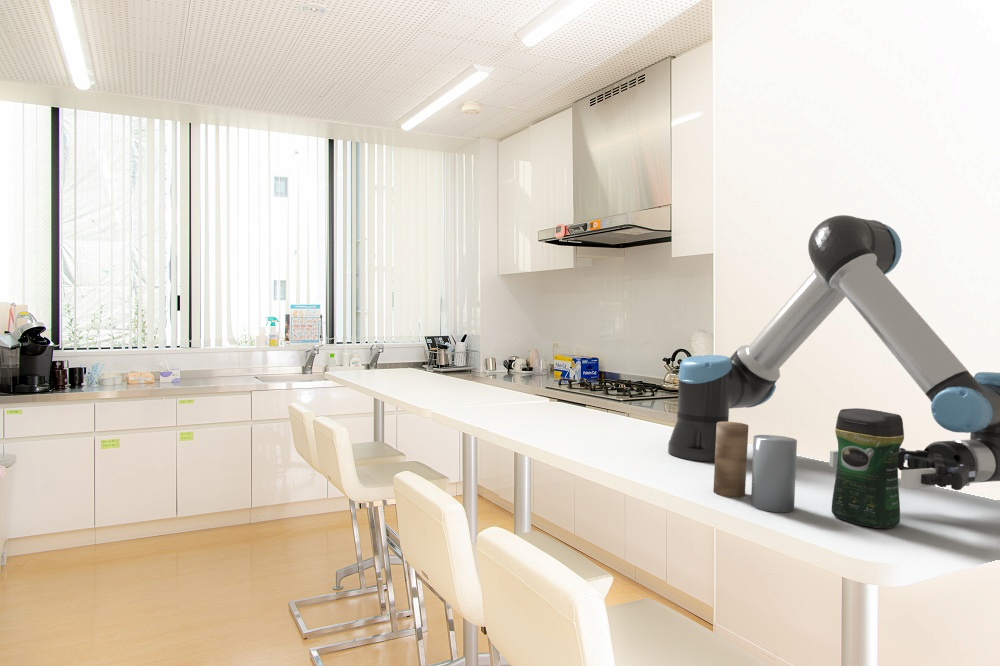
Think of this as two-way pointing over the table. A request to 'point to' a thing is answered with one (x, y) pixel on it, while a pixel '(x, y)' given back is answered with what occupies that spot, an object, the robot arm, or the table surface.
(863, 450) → the coffee jar
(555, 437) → the table surface
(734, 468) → the walnut spice mill
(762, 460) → the slate canister
